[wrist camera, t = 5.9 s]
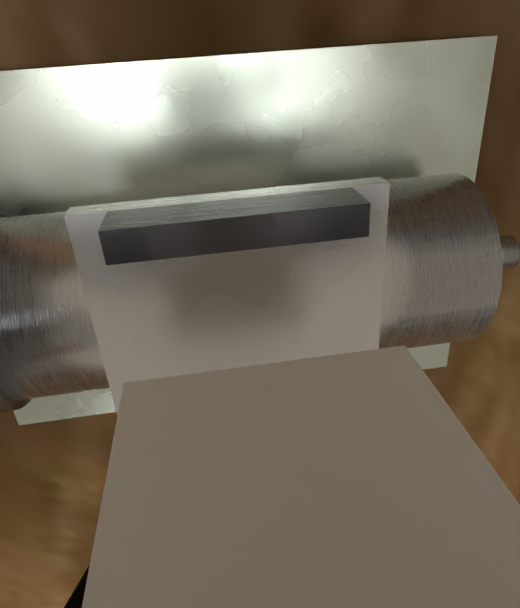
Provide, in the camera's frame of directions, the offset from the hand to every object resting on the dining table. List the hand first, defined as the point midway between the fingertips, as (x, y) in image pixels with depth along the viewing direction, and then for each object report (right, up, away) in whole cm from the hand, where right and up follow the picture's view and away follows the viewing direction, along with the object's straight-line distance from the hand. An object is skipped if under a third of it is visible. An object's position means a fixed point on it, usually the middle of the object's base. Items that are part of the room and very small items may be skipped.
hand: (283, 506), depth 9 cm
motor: (-2, +6, +11) cm, 13 cm away
